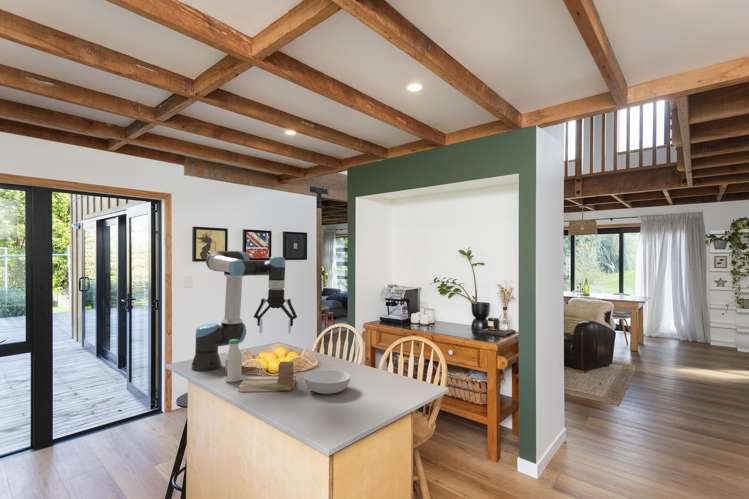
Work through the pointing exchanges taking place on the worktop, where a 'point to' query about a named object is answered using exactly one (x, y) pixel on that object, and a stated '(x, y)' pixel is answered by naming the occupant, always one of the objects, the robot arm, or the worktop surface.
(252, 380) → the maple board
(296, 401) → the worktop surface
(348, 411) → the worktop surface
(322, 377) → the serving bowl
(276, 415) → the worktop surface
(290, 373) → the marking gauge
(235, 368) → the milk bottle
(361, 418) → the worktop surface
